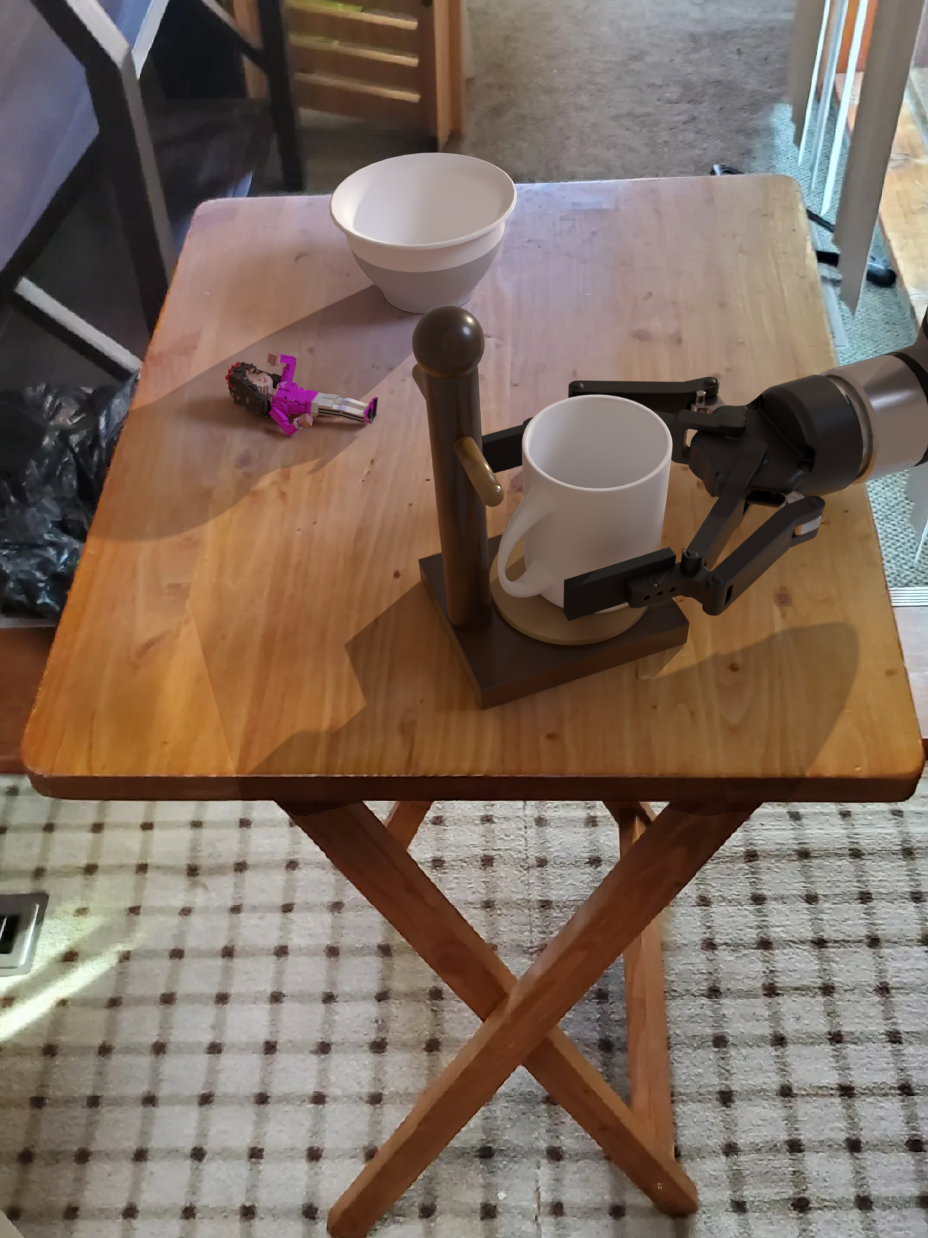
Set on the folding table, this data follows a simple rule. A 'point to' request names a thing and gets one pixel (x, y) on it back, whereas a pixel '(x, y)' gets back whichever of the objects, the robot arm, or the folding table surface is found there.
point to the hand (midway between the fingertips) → (520, 524)
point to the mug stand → (467, 566)
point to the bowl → (425, 225)
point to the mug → (587, 492)
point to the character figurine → (290, 396)
